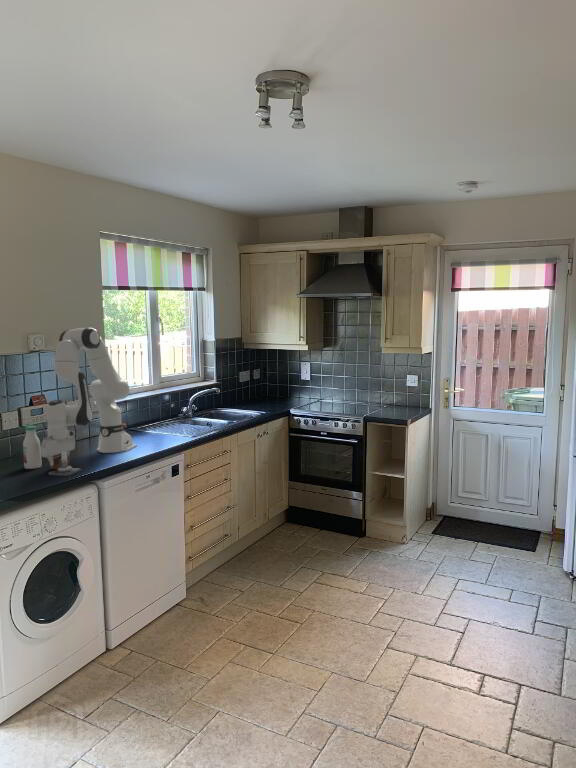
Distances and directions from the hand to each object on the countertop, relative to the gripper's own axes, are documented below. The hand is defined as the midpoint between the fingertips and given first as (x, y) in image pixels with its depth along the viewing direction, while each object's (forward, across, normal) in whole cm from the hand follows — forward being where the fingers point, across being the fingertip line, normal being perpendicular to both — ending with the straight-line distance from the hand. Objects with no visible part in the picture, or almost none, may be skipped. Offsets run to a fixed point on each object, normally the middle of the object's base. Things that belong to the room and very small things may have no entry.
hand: (59, 463), depth 273 cm
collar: (+2, 0, 0) cm, 2 cm away
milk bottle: (+3, -2, +14) cm, 14 cm away
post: (+2, -8, -9) cm, 12 cm away
